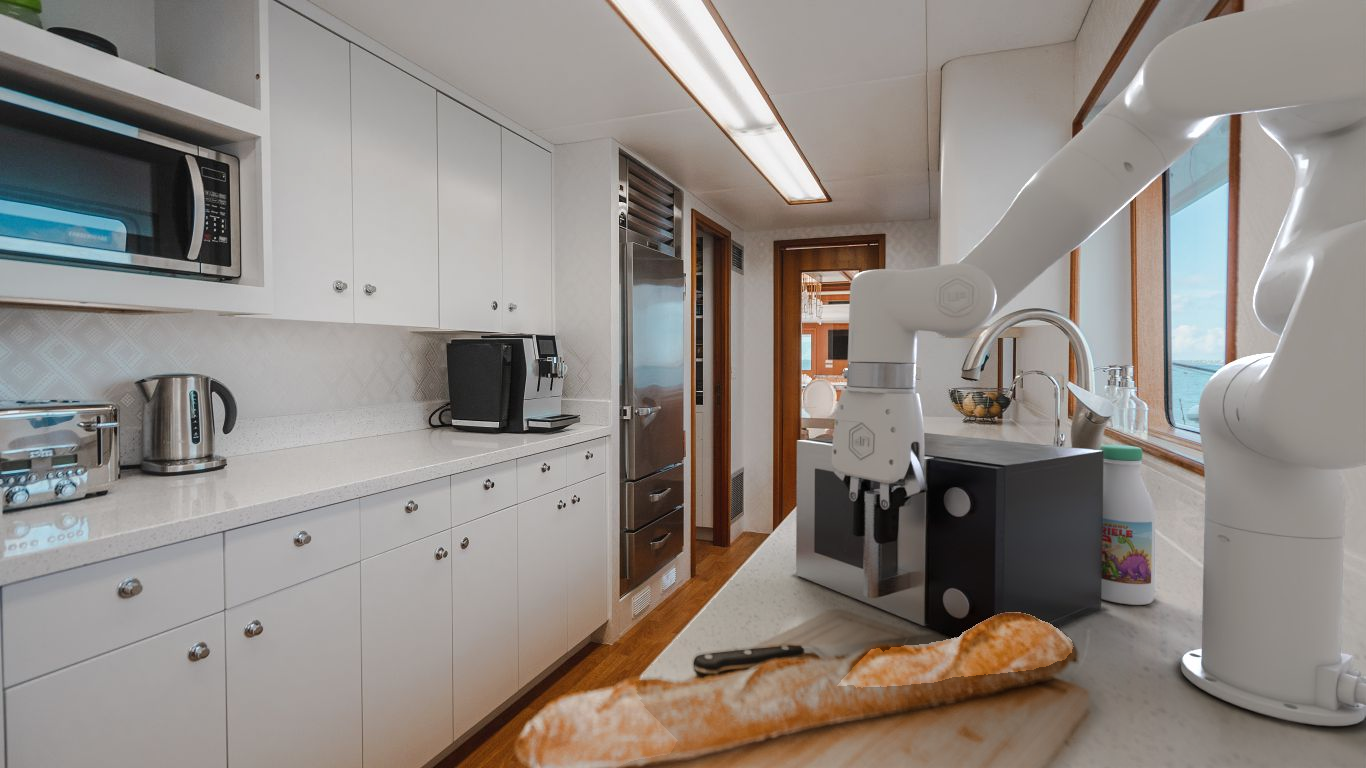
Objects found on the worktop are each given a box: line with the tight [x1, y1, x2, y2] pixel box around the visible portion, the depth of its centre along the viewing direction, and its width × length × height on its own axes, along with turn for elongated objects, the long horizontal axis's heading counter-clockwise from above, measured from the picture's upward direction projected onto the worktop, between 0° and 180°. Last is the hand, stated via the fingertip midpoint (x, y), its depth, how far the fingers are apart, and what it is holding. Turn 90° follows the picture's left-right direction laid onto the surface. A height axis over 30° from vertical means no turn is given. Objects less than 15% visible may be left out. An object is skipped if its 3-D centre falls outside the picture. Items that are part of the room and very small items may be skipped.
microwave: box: [805, 432, 1104, 639], centre depth 85 cm, size 24×30×20 cm
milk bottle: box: [1099, 444, 1157, 606], centre depth 83 cm, size 8×8×20 cm
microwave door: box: [795, 439, 934, 627], centre depth 80 cm, size 8×22×20 cm, turn 33°
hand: (875, 536), depth 72 cm, fingers closed
